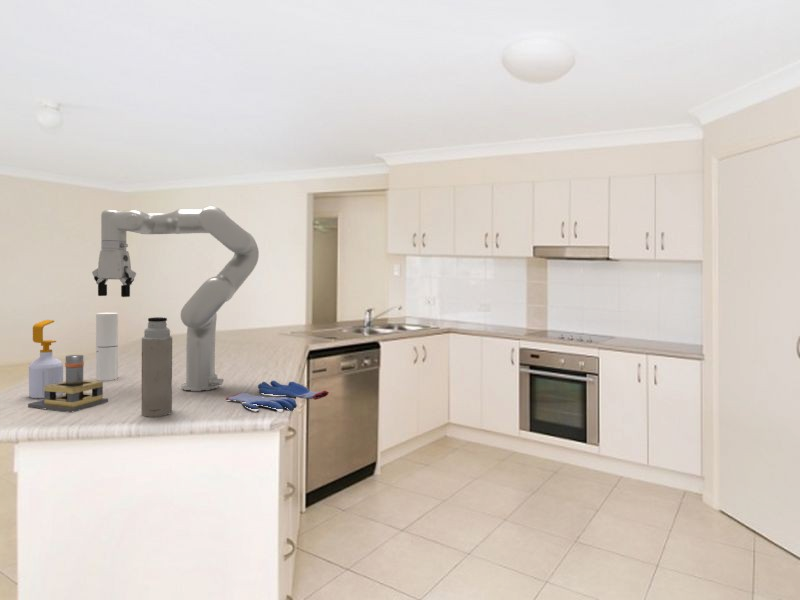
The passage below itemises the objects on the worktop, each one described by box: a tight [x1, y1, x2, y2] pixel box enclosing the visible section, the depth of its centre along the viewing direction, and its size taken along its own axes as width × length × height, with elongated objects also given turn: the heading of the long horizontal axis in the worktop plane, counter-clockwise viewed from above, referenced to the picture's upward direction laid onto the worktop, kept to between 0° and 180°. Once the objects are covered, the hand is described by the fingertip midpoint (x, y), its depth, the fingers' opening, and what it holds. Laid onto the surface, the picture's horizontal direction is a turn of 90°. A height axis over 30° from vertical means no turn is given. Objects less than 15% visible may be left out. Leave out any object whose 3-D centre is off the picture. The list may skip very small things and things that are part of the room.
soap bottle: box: [28, 319, 64, 399], centre depth 161 cm, size 9×9×25 cm
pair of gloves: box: [225, 380, 330, 411], centre depth 165 cm, size 32×26×4 cm
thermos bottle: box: [141, 316, 173, 418], centre depth 144 cm, size 8×8×28 cm
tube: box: [64, 354, 85, 399], centre depth 151 cm, size 5×5×14 cm
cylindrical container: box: [95, 312, 119, 382], centre depth 188 cm, size 7×7×25 cm
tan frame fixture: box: [27, 379, 109, 413], centre depth 152 cm, size 16×13×6 cm
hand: (114, 296), depth 172 cm, fingers open, 9 cm apart
